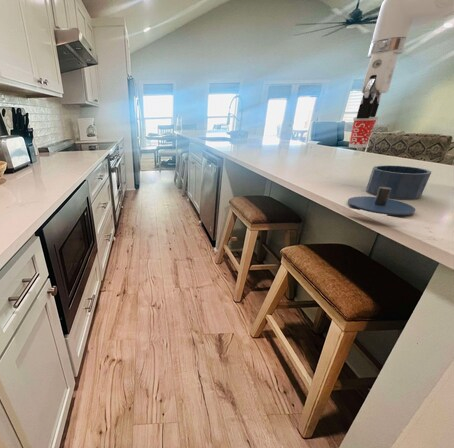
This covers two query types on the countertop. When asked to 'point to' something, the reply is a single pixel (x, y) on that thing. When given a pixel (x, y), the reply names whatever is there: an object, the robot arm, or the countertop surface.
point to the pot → (399, 181)
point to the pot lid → (381, 204)
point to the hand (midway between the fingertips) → (365, 117)
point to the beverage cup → (361, 131)
